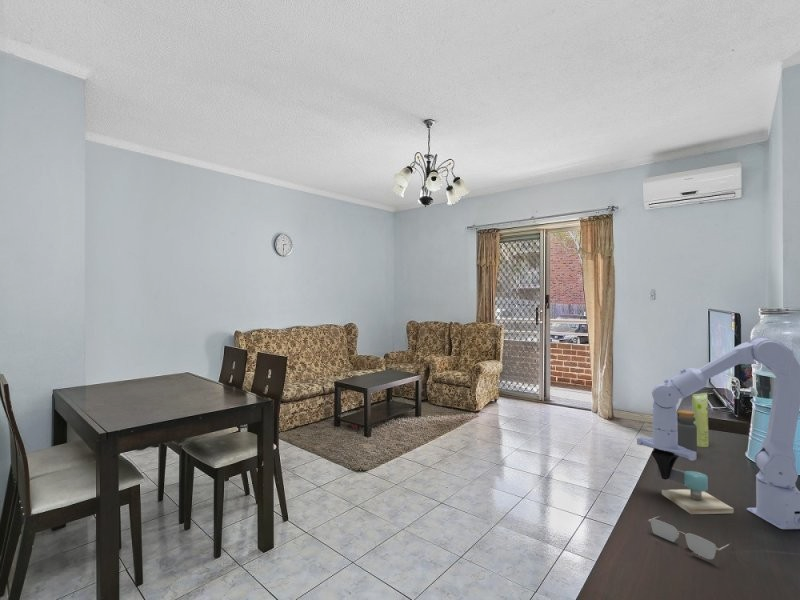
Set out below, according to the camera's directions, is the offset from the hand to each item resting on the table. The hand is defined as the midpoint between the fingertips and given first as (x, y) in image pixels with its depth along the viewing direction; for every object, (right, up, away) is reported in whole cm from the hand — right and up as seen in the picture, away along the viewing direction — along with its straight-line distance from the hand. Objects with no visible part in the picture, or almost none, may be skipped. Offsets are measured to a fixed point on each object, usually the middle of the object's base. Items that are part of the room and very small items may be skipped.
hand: (665, 478), depth 114 cm
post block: (+5, -5, -4) cm, 8 cm away
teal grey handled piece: (+4, -1, -1) cm, 4 cm away
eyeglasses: (-8, -5, -21) cm, 23 cm away
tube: (+38, -5, +39) cm, 55 cm away
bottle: (+27, -5, +31) cm, 41 cm away
